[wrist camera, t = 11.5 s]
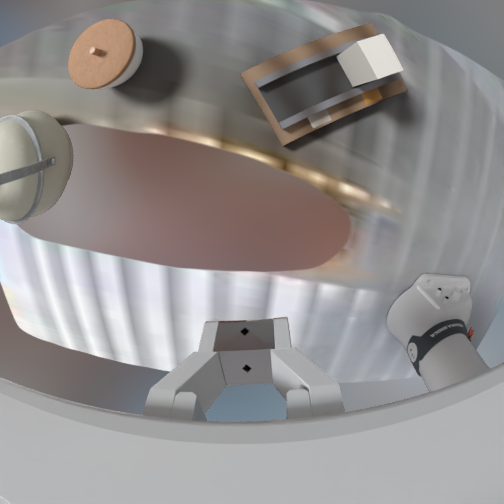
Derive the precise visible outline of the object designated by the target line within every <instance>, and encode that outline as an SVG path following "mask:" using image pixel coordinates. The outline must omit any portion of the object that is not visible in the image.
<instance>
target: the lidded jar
mask: <svg viewBox="0 0 504 504" xmlns="http://www.w3.org/2000/svg"><path fill="white" fill-rule="evenodd" d="M142 57H143V44H142V41H141V39H140V37H139V35H138V34H137V33H136V32H135V31H134V30H133V29H132V28H131V27H130V26H129V25H128V24H126V23H125V22H123V21H121V20H118V19H106V20H102V21H99V22H97V23H95V24H93V25H92V26H90V27H89V28H87V29H86V30H85V31H84V32H83V33H82V34H81V35H80V36H79V38H78V39H77V40H76V42H75V44H74V45H73V47H72V50H71V52H70V56H69V62H68V67H69V73H70V76H71V78H72V80H73V81H74V82H75V83H76V84H77V85H78V86H80V87H82V88H86V89H106V88H111V87H115V86H117V85H120V84H122V83H124V82H125V81H126V80H128V79H129V78H130V77H131V76H132V75H133V74H134V73H135V72H136V70H137V69H138V67H139V65H140V63H141V61H142Z"/></svg>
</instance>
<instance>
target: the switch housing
mask: <svg viewBox="0 0 504 504" xmlns="http://www.w3.org/2000/svg"><path fill="white" fill-rule="evenodd" d="M377 35H378V33H377V32H376V30H375V28H374V27H373V25H372V24H371V23H370V24H366V25H362V26H358V27H355V28H352V29H348V30H345V31H342V32H339V33H336V34H333V35H330V36H327V37H324V38H321V39H318V40H315V41H313V42H310V43H307V44H305V45H302V46H300V47H297V48H295V49H292V50H290V51H288V52H285V53H283V54H281V55H278V56H276V57H274V58H272V59H269V60H267V61H265V62H263V63H261V64H259V65H257V66H255V67H253V68H251V69H249V70H247V71H245V72H243V73H241V74H240V75H241V77H242V79H243V80H244V82H245V83H246V85H247V87H248V88H249V90H250V91H251V93H252V95H253V96H254V98H255V100H256V101H257V103H258V105H259V106H260V108H261V110H262V111H263V113H264V115H265V117H266V118H267V120H268V122H269V123H270V125H271V127H272V129H273V130H274V132H275V134H276V136H277V137H278V139H279V141H280V143H281V145H283V146H284V145H286V144H287V143H289V142H291V141H293V140H295V139H298V138H300V137H302V136H304V135H306V134H308V133H310V132H312V131H314V130H316V129H318V128H320V127H322V126H325V125H327V124H329V123H331V122H333V121H336V120H338V119H340V118H342V117H344V116H347V115H349V114H351V113H354V112H356V111H358V110H361V109H363V108H365V107H368V106H370V105H372V104H375V103H377V102H380V101H382V100H385V99H387V98H390V97H392V96H395V95H398V94H400V93H403V92H406V91H407V88H406V86H405V84H404V82H403V80H402V78H401V76H400V74H399V72H397V73H394V74H391V75H388V76H385V77H383V78H380V79H377V80H374V81H370V82H367V83H364V84H360V85H357V86H354V87H352V85H351V83H350V81H349V79H348V77H347V75H346V74H345V72H344V70H343V68H342V66H341V65H340V63H339V61H338V60H337V58H336V57H337V56H338V55H339V54H341V53H342V52H343V51H345V50H346V49H347V48H349V47H350V46H351V45H353V44H354V43H356V42H357V41H360V40H364V39H367V38H370V37H374V36H377Z"/></svg>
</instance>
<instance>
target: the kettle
mask: <svg viewBox="0 0 504 504" xmlns="http://www.w3.org/2000/svg"><path fill="white" fill-rule="evenodd" d="M72 165H73V149H72V144H71V140H70V138H69V136H68V134H67V132H66V131H65V130H64V128H63V127H62V126H61V125H60V124H59V123H58V121H57V120H56V119H55V118H53V117H52V116H51V115H49V114H47V113H45V112H42V111H37V110H31V111H25V112H22V113H19V114H17V115H7V116H5V117H3V118H1V119H0V219H2V220H4V221H5V222H8V223H11V224H19V223H23V222H25V221H27V220H28V219H29V218H30V217H34V216H37V215H40V214H42V213H44V212H46V211H47V210H49V209H50V208H51V207H52V206H53V205H54V204H55V203H56V202H57V201H58V199H59V198H60V196H61V195H62V193H63V191H64V189H65V186H66V184H67V181H68V179H69V177H70V174H71V170H72Z"/></svg>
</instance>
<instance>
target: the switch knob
mask: <svg viewBox="0 0 504 504" xmlns="http://www.w3.org/2000/svg"><path fill="white" fill-rule="evenodd" d="M336 58H337V60H338V61H339V63H340V65H341V66H342V68H343V70H344V72H345V74H346V75H347V77H348V79H349V81H350V83H351V85H352V87H354V86H357V85H360V84H364V83H367V82H370V81H374V80H377V79H380V78H383V77H385V76H388V75H391V74H394V73H397V72H400V71H403V68H402V66H401V64H400V62H399V60H398V58H397V57H396V55H395V53H394V51H393V49H392V47H391V46H390V44H389V42H388V40H387V39H386V37H385V35H384V34H381V35H377V36H374V37H370V38H367V39H364V40H360V41H357V42H356V43H354V44H353V45H351V46H350V47H349V48H347V49H346V50H345V51H343V52H342V53H341V54H339V55H338V56H337V57H336Z"/></svg>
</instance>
